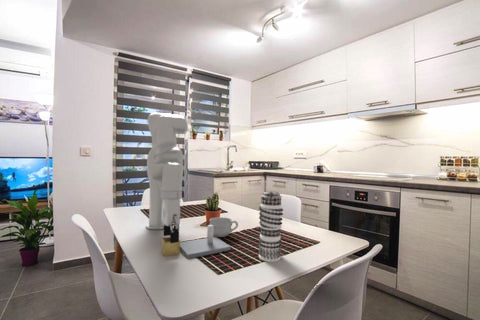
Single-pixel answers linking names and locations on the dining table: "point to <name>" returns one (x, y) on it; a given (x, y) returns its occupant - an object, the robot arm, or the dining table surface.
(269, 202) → the leaning tower model
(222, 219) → the teacup
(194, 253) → the board
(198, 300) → the dining table surface
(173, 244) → the brass collar
